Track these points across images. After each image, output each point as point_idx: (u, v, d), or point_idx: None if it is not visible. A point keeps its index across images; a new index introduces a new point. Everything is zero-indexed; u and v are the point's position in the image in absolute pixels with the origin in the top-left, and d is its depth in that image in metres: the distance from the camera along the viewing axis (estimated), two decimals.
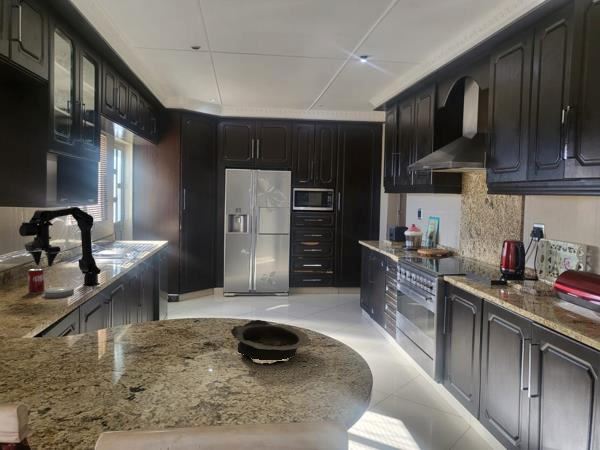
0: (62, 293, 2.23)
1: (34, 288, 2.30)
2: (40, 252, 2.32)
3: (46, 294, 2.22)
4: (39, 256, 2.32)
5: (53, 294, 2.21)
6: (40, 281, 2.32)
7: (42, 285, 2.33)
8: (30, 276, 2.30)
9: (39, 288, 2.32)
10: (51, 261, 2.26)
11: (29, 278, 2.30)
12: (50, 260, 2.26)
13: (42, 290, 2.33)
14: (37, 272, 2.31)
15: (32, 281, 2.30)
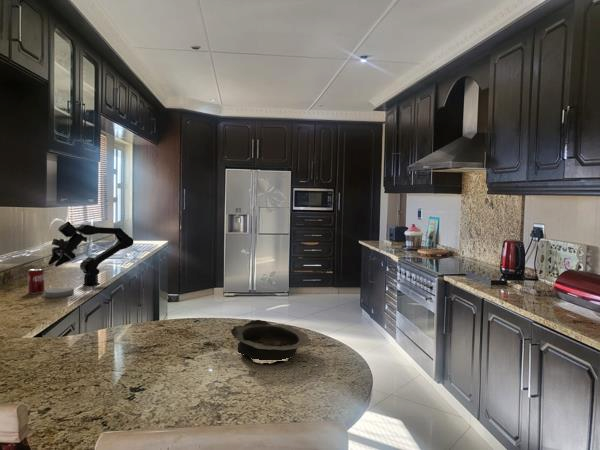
0: (62, 293, 2.23)
1: (34, 288, 2.30)
2: (59, 257, 2.46)
3: (46, 294, 2.22)
4: (56, 259, 2.45)
5: (53, 294, 2.21)
6: (40, 281, 2.32)
7: (42, 285, 2.33)
8: (30, 276, 2.30)
9: (39, 288, 2.32)
10: (60, 263, 2.37)
11: (29, 278, 2.30)
12: (60, 261, 2.36)
13: (42, 290, 2.33)
14: (37, 272, 2.31)
15: (32, 281, 2.30)
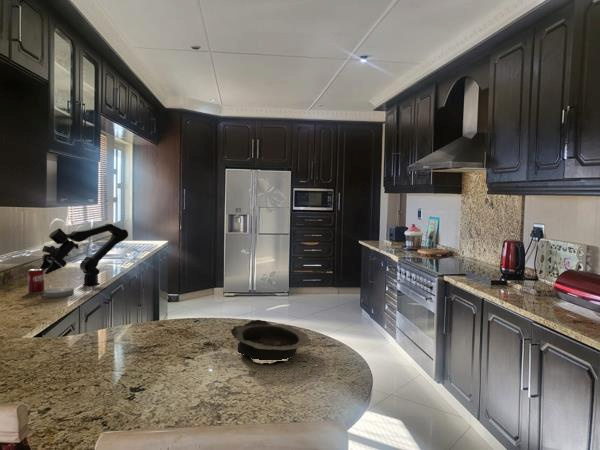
0: (62, 293, 2.23)
1: (34, 288, 2.30)
2: (50, 264, 2.43)
3: (46, 294, 2.22)
4: (46, 267, 2.42)
5: (53, 294, 2.21)
6: (40, 281, 2.32)
7: (42, 285, 2.33)
8: (30, 276, 2.30)
9: (39, 288, 2.32)
10: (50, 270, 2.33)
11: (29, 278, 2.30)
12: (50, 268, 2.33)
13: (42, 290, 2.33)
14: (37, 272, 2.31)
15: (32, 281, 2.30)
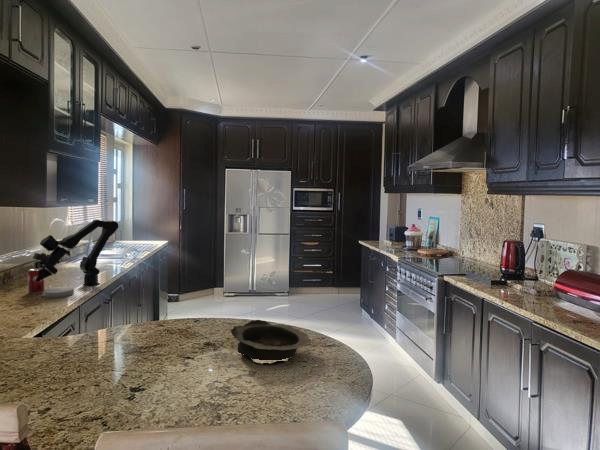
0: (62, 293, 2.23)
1: (34, 288, 2.30)
2: None
3: (46, 294, 2.22)
4: None
5: (53, 294, 2.21)
6: (40, 281, 2.32)
7: (42, 285, 2.33)
8: (30, 276, 2.30)
9: (39, 288, 2.32)
10: (40, 277, 2.31)
11: (29, 278, 2.30)
12: (40, 276, 2.31)
13: (42, 290, 2.33)
14: (37, 272, 2.31)
15: (32, 281, 2.30)
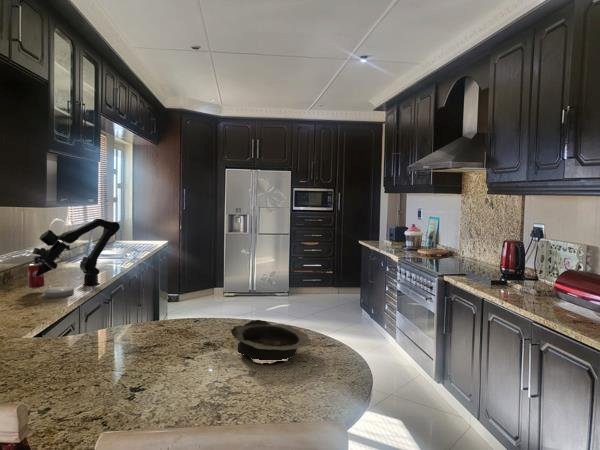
0: (62, 293, 2.23)
1: (35, 283, 2.30)
2: None
3: (46, 294, 2.22)
4: None
5: (53, 294, 2.21)
6: (40, 276, 2.32)
7: (42, 280, 2.33)
8: (30, 271, 2.30)
9: (39, 283, 2.32)
10: (40, 272, 2.31)
11: (29, 273, 2.30)
12: (40, 271, 2.30)
13: (42, 285, 2.33)
14: (37, 267, 2.30)
15: (32, 276, 2.30)
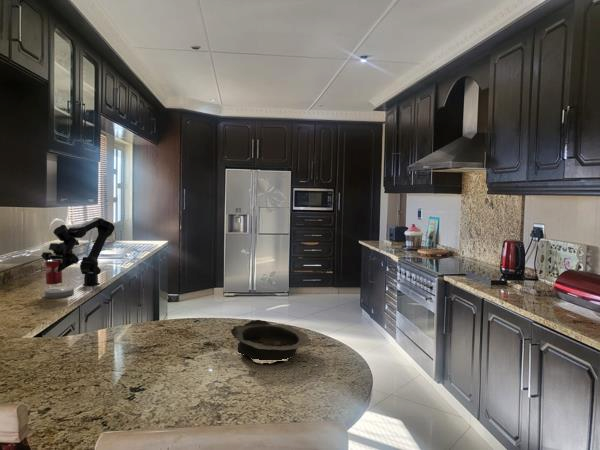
0: (62, 293, 2.23)
1: (56, 279, 2.26)
2: None
3: (46, 294, 2.22)
4: None
5: (53, 294, 2.21)
6: (61, 272, 2.28)
7: (61, 276, 2.29)
8: (51, 267, 2.24)
9: (60, 278, 2.28)
10: (62, 268, 2.27)
11: (50, 269, 2.24)
12: (62, 266, 2.27)
13: (61, 281, 2.29)
14: (58, 262, 2.26)
15: (54, 272, 2.25)
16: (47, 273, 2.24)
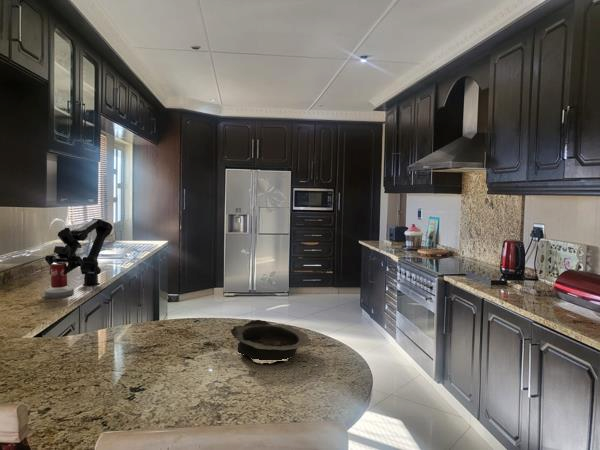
0: (62, 293, 2.23)
1: (62, 282, 2.26)
2: None
3: (46, 294, 2.22)
4: None
5: (53, 294, 2.21)
6: (66, 275, 2.28)
7: None
8: (57, 270, 2.24)
9: (66, 281, 2.28)
10: (68, 270, 2.27)
11: (56, 272, 2.24)
12: (68, 269, 2.27)
13: None
14: (64, 265, 2.26)
15: (60, 275, 2.25)
16: (53, 276, 2.24)
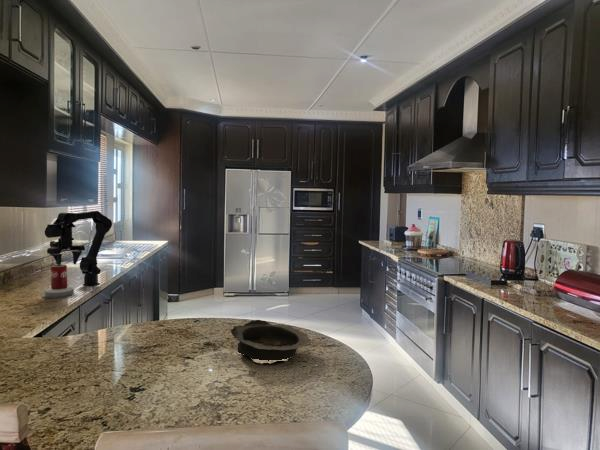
0: (62, 293, 2.23)
1: (62, 284, 2.26)
2: (77, 252, 2.44)
3: (46, 294, 2.22)
4: (76, 256, 2.44)
5: (53, 294, 2.21)
6: (66, 277, 2.28)
7: None
8: (57, 272, 2.24)
9: (66, 283, 2.28)
10: (57, 262, 2.35)
11: (56, 274, 2.24)
12: (56, 261, 2.35)
13: None
14: (64, 267, 2.26)
15: (60, 277, 2.25)
16: (53, 278, 2.24)
